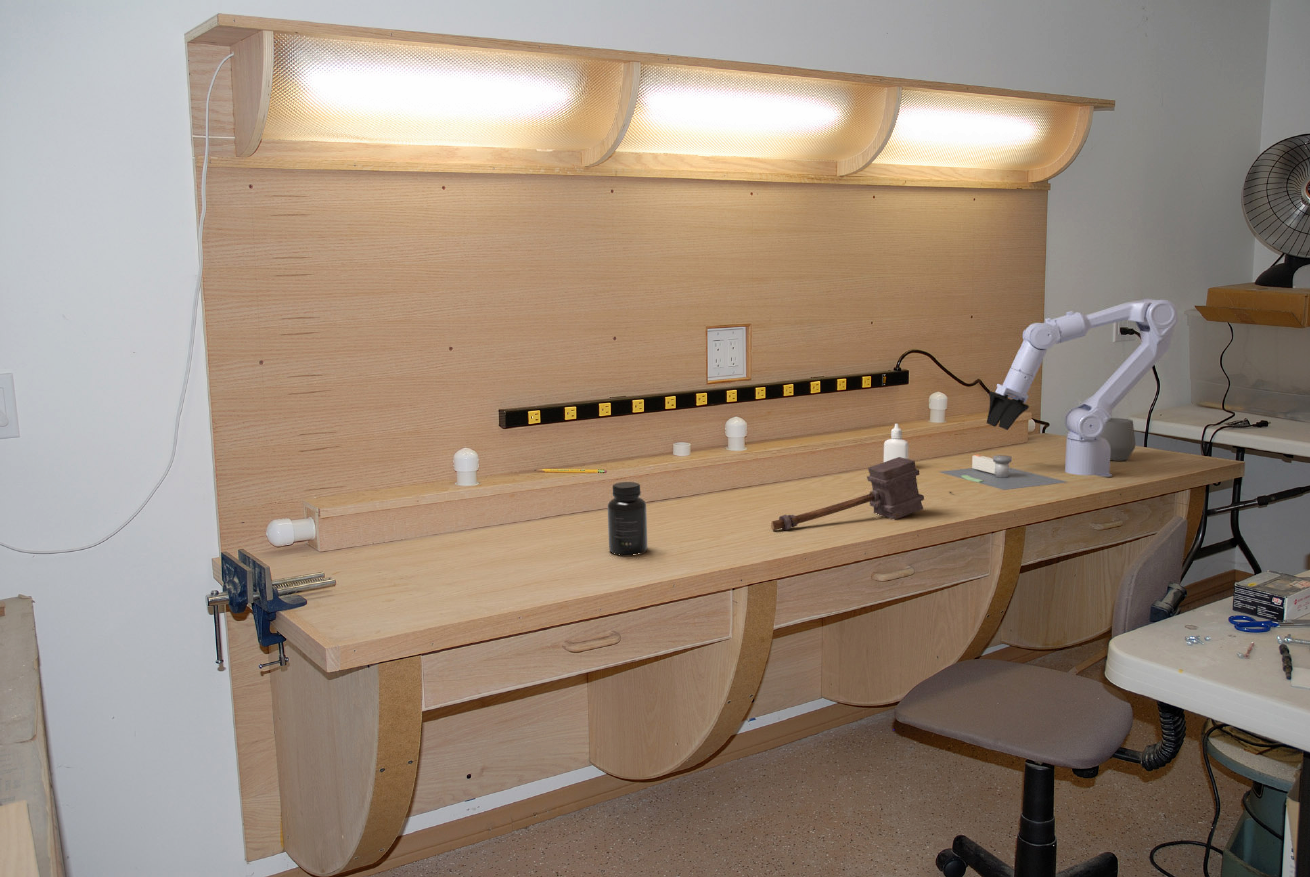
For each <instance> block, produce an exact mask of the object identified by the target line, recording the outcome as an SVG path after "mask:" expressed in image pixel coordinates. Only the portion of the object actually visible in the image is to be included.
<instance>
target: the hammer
mask: <svg viewBox="0 0 1310 877" xmlns="http://www.w3.org/2000/svg"><path fill="white" fill-rule="evenodd" d="M867 470H868V473H869V475H868V476H867V475H866V479H867V481H868V482H870V483H871V486H872V488H871V489H872V490H871V491H870V492H869V494H865V495H861V496H859V497H855V498H853V499H850V500H849V499H848V500H846V501H842V502H838V503H836V504H833V505H829V506H826V507H825V506H824V507H822V508H819V509H818V508H817V509H815V510H812V511H808V512H805V513H801V514H798V515H795V514H783V515H780V516H779V518H778V519H777V520H773V521H771V523H770V524H771V525H770V528H771V530H772V531H777V530H783V529H784V530H783V531H789V530H790V529H791V528H794V527H797V526H798V524H802V523H805V522H809V521H812V520H817V519H819V518H822V517H826V516H829V515H832V514H836V513H838V512H839V513H840V512H842V511H845V510H848V509H852V508H855V507H857V506H860V505H864V504H866V503H869V506H870V507H872V508H873V514H875V513H877V514H876V515H878V514H879V515H878V516H880V515H883V516H885V517H884V518H886V517H888V518H887V519H889V518H890V519H889V520H892V519H895V520H898V519H900V518H903V517H906V516H908V515H910V514H914V513H916V512H919V511H921V510H924V506H923V504H922V501H924V500H925V495H923V494H920V492H919V488H918V487H919V486H918V482H917V481H918V479H917V476H920V469H917V468H916V462H915V460H913V459H909V458H908V459H906V458H901V457H897V458H895V459H892V460H889V461H886V462H884V461H883V462H881V463H878V464H875V465H873V466H869V467H868V469H867ZM883 516H882V517H883ZM781 528H782V529H781Z"/></svg>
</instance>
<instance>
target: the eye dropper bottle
mask: <svg viewBox="0 0 1310 877" xmlns="http://www.w3.org/2000/svg"><path fill="white" fill-rule="evenodd" d="M890 431H891V432H890V436H891V438H889V439H886V440H885V441H884V443H883V463H884V462H886V461H889V460H892V459H895V458H897V457H901V458H906V459H909V442H908V441H907V440H905V439H902V437H903V436H902V434H903V430H902V429H901V428H900V426H899V423H894V427H893V428H892V429H891V430H890Z"/></svg>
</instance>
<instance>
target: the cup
mask: <svg viewBox="0 0 1310 877" xmlns="http://www.w3.org/2000/svg"><path fill="white" fill-rule="evenodd" d="M1134 427H1135V426H1134V420H1132V419H1128V418H1119V417H1111V418H1110V419H1109V421H1108V422H1107V423H1106V425H1105V429H1104V431H1103V433H1102V434H1101V435H1100V436H1101V437H1102V438H1104V439H1106V440H1107V441H1108V443H1109V445H1110V449H1111V454H1110V460H1113V462H1121V461H1126V460H1128V459H1129V458H1130V456H1131V455H1132V453H1133V452H1134V450H1135V448H1136V436H1135V428H1134Z"/></svg>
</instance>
